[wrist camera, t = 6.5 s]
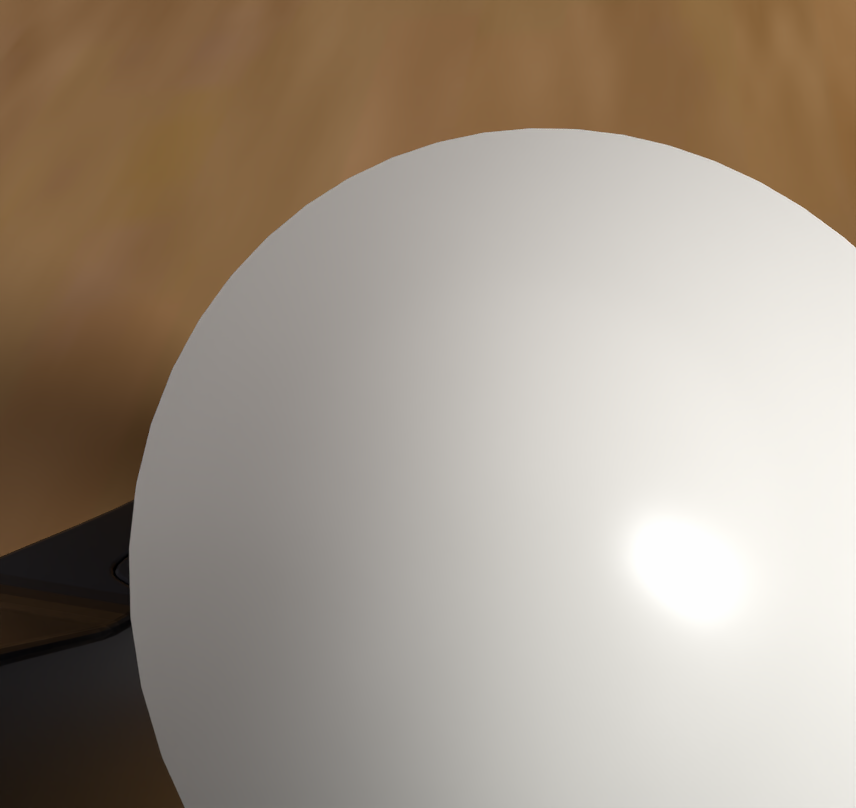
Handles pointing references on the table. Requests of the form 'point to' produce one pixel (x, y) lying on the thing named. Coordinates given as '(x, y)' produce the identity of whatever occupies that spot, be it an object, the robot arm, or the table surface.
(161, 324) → the table surface
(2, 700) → the robot arm
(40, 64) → the table surface
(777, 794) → the white bottle
